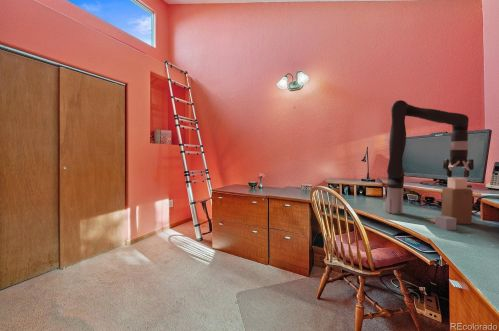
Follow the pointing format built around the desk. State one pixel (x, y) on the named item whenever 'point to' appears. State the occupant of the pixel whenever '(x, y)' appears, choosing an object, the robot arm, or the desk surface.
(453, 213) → the wooden block
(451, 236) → the desk surface
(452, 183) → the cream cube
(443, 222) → the mauve cube
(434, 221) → the tile
